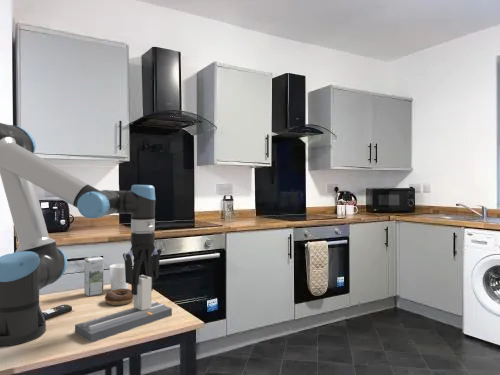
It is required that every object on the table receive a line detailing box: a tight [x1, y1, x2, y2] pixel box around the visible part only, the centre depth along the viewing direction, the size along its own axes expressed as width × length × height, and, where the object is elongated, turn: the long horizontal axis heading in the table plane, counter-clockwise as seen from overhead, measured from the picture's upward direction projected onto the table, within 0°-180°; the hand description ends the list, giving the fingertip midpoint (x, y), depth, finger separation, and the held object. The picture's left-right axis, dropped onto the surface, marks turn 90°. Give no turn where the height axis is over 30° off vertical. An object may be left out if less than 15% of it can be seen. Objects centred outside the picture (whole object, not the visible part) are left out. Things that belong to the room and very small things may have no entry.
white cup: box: [109, 262, 129, 291], centre depth 154 cm, size 8×8×10 cm
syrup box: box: [83, 256, 105, 297], centre depth 147 cm, size 6×6×14 cm
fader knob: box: [133, 274, 152, 311], centre depth 122 cm, size 5×4×11 cm
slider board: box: [74, 300, 173, 343], centre depth 117 cm, size 10×28×3 cm, turn 140°
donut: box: [104, 288, 133, 306], centre depth 139 cm, size 11×11×4 cm
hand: (142, 302), depth 122 cm, fingers closed on fader knob, 3 cm apart
